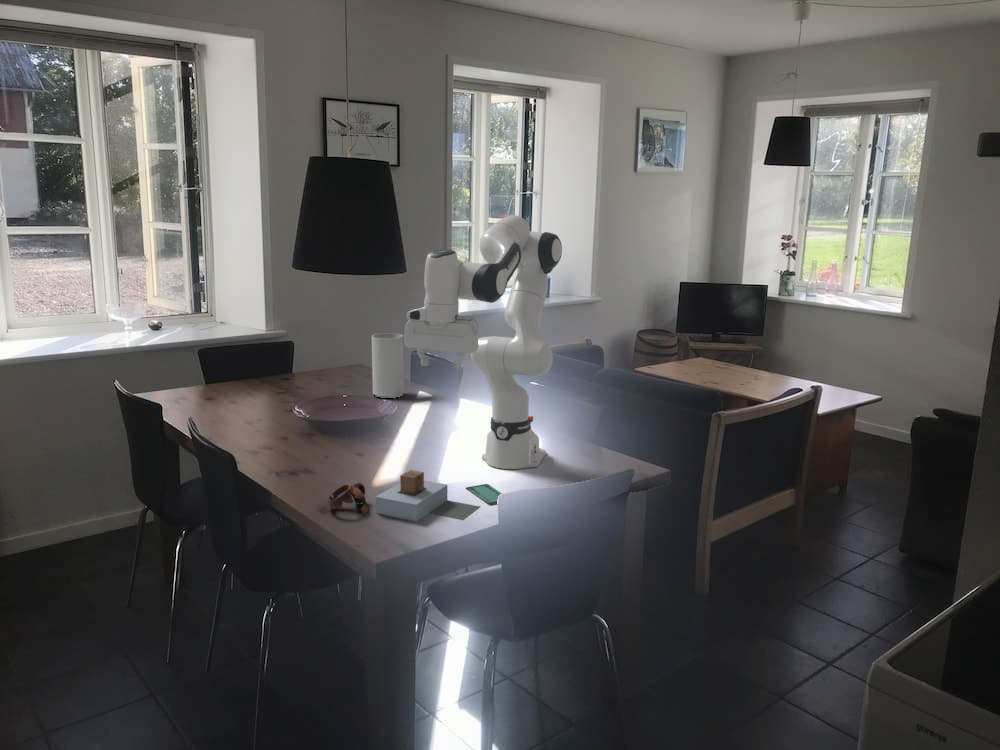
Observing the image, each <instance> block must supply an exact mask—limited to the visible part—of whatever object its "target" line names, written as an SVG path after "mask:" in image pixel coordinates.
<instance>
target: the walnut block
mask: <svg viewBox="0 0 1000 750" xmlns="http://www.w3.org/2000/svg"><path fill="white" fill-rule="evenodd" d="M399 479H400V483H401V494H406V495H411V496H416V495H418V494H419V493H421V492H423V491H424V481H425V473H424V471H419V470H414V469H410V470H408V471H406V472H404V473H403V474H400V478H399Z"/></svg>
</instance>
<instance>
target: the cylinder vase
mask: <svg viewBox="0 0 1000 750" xmlns="http://www.w3.org/2000/svg"><path fill="white" fill-rule="evenodd" d="M371 364H372V365H371V368H372V369H371V370H372V371H371V373H372V395H373V394H375V395H377V396H389V397H395V396H400V395H403V396H404V394H403V393H404V391H405V390H404V335H403V334H400V333H391V332H389V333H388V332H387V333H385V332H384V333H375V334H372V335H371Z"/></svg>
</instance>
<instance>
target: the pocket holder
mask: <svg viewBox="0 0 1000 750" xmlns="http://www.w3.org/2000/svg"><path fill="white" fill-rule="evenodd" d="M447 500H448V484H445V483H440V482H435V481H429V480H424V491H423V492H421V493H419V494H418V495H416V496H411V495H406V494H401V482H399V483H397V484H396V485H394V486H391V487H390V488H388V489H386V490H385V491H383V492H381V493H380V494H378V495H376V496H375V514H379V515H383V516H387V517H393V518H397V519H402V520H407V521H408V520H409V521H411V522H418V521H420V520H421V519H422V518H423V517H425V516H428V514H430V513H429V512H431V511H432V510H434V509H435V508H437V507H438V506H440V505H441V504H443V503H444V502H446V501H447Z"/></svg>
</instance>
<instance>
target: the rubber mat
mask: <svg viewBox="0 0 1000 750" xmlns="http://www.w3.org/2000/svg"><path fill="white" fill-rule="evenodd" d="M480 508H481V506H479V505H474V504H469V503H463V502H459V501H454V500H453V501H452V500H448V499H447V501H446V502H444V503H443V504H441V505H440V506H438V507H437V508H435V509H434V510H432V511H431V512H429V513H428V514H431V515H435V516H441V517H446V518H451V519H456V520H461V521H464V520H465V519H466V518H468V517H469V516H470V515H472V514H473V513H475V512H476V511H478V510H479V509H480Z"/></svg>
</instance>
